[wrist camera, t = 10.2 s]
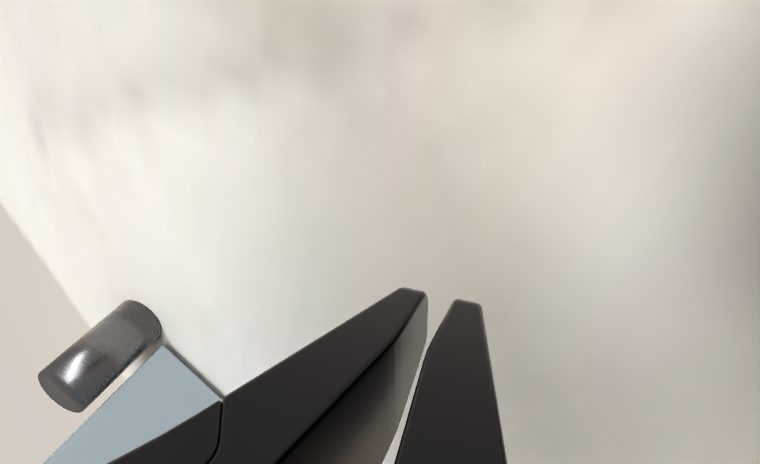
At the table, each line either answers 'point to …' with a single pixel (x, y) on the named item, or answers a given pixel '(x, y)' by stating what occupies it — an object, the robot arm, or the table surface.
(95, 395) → the posts
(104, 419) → the panel
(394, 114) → the table surface
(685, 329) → the table surface
